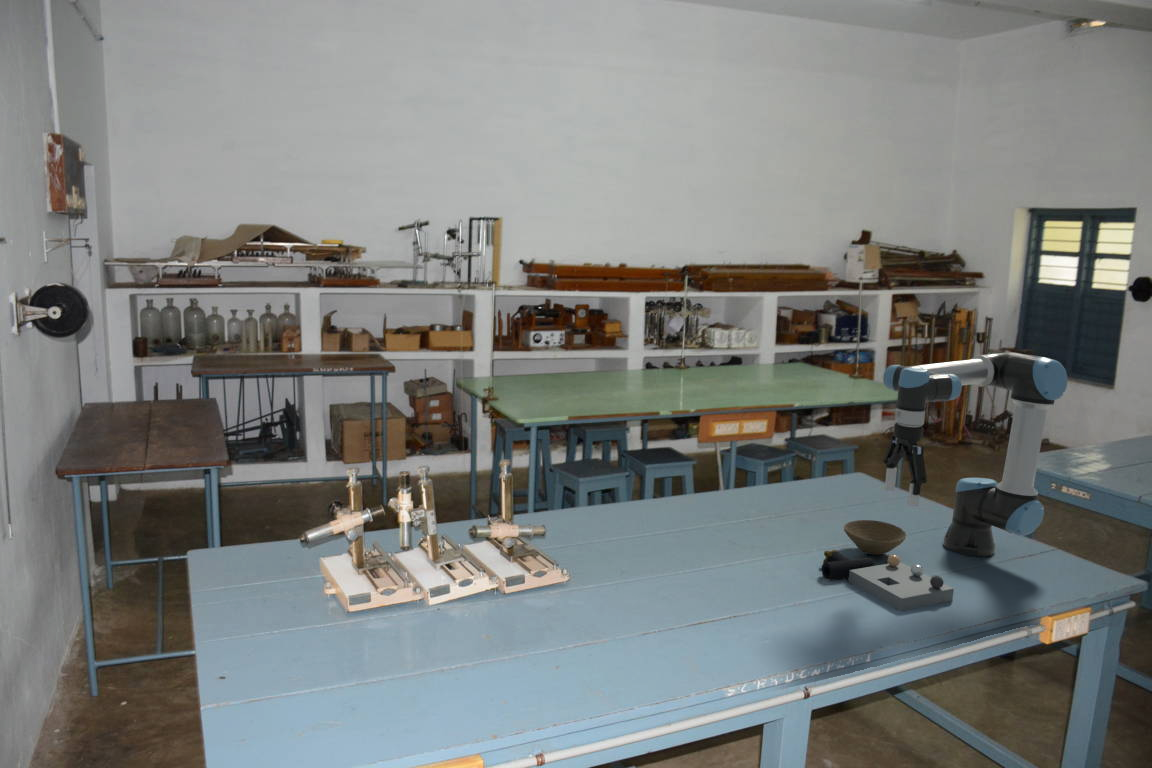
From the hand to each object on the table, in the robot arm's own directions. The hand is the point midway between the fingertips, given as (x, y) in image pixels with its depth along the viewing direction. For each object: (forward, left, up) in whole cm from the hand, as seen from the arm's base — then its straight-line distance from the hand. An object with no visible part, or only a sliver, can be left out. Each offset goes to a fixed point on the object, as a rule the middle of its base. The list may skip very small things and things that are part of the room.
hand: (901, 497), depth 241 cm
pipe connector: (+7, -13, -27) cm, 30 cm away
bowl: (-13, -21, -26) cm, 36 cm away
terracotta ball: (-4, -4, -23) cm, 23 cm away
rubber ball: (-4, +12, -23) cm, 26 cm away
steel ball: (-5, +4, -23) cm, 23 cm away
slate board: (+1, +4, -26) cm, 26 cm away
